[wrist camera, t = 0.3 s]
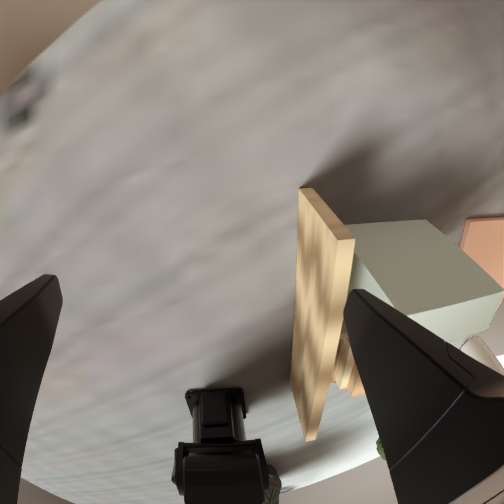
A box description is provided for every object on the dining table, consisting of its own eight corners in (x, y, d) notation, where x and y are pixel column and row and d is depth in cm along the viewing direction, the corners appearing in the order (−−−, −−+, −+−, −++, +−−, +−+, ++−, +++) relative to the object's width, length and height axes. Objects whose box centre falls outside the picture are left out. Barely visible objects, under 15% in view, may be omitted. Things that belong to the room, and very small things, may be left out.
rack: (402, 357, 35) (430, 407, 28) (289, 381, 34) (305, 441, 27) (452, 185, 24) (512, 224, 17) (298, 188, 23) (337, 240, 16)
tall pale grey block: (418, 253, 27) (487, 329, 18) (330, 263, 27) (385, 360, 17) (425, 219, 26) (505, 290, 16) (334, 225, 25) (400, 316, 15)
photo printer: (489, 351, 40) (526, 404, 30) (470, 369, 41) (504, 423, 31) (476, 329, 36) (522, 392, 25) (454, 350, 37) (496, 415, 27)
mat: (497, 302, 34) (499, 305, 33) (434, 320, 33) (437, 324, 32) (528, 215, 27) (531, 217, 27) (466, 219, 26) (470, 221, 26)
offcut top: (401, 373, 33) (406, 382, 32) (346, 387, 33) (351, 397, 31) (416, 335, 30) (423, 344, 29) (357, 349, 30) (362, 360, 28)
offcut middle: (395, 365, 35) (400, 374, 34) (335, 380, 34) (339, 389, 33) (411, 322, 31) (417, 331, 30) (345, 336, 31) (350, 347, 29)
